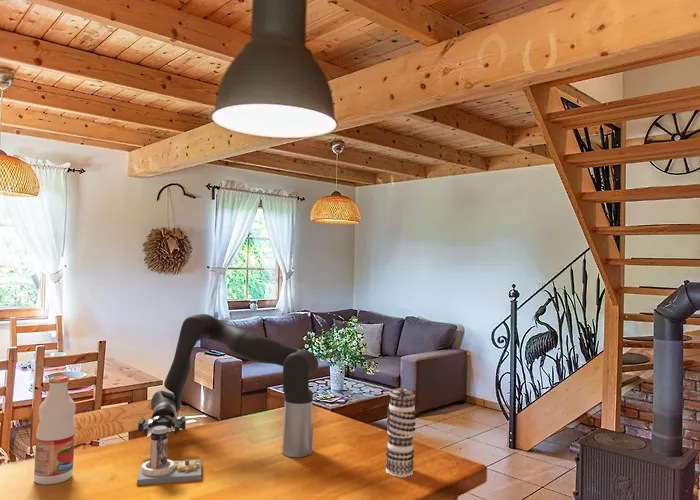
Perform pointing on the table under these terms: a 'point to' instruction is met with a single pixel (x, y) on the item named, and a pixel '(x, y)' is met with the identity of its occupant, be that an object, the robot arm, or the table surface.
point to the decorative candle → (400, 432)
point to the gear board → (170, 472)
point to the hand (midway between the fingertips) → (161, 431)
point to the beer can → (158, 447)
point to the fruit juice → (55, 434)
